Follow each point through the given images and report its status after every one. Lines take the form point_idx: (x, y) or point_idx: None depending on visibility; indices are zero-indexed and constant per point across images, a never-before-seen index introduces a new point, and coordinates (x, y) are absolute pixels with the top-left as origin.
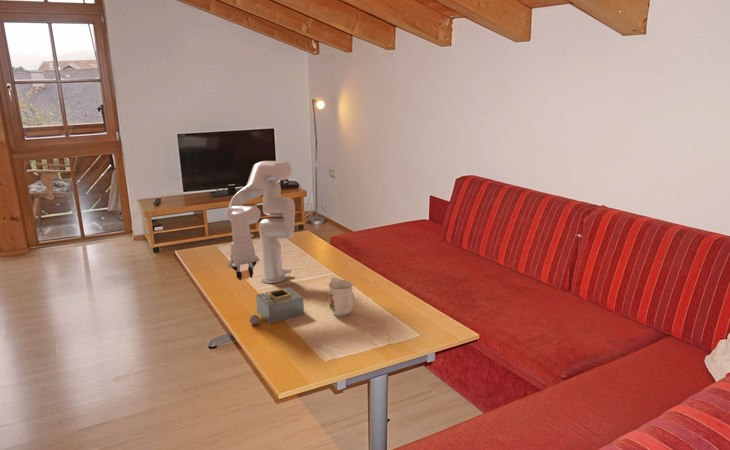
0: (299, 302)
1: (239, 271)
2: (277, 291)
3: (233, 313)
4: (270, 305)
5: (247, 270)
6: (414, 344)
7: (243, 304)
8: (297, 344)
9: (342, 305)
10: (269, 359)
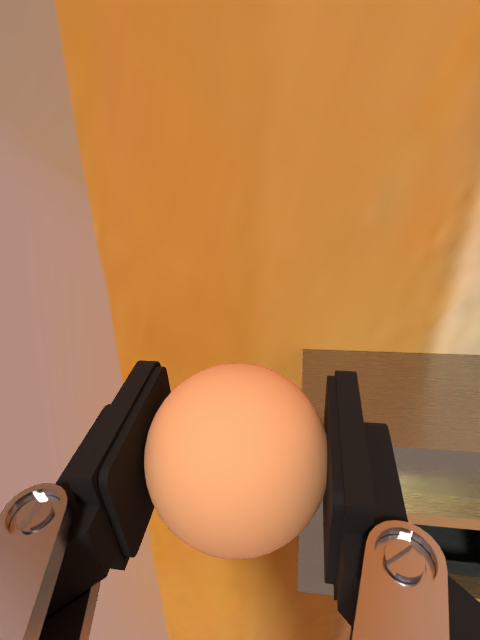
0: None
1: (108, 554)
2: (475, 524)
3: (160, 289)
4: (310, 591)
5: (276, 549)
6: None
7: (268, 175)
8: (309, 627)
9: None
10: (196, 630)
